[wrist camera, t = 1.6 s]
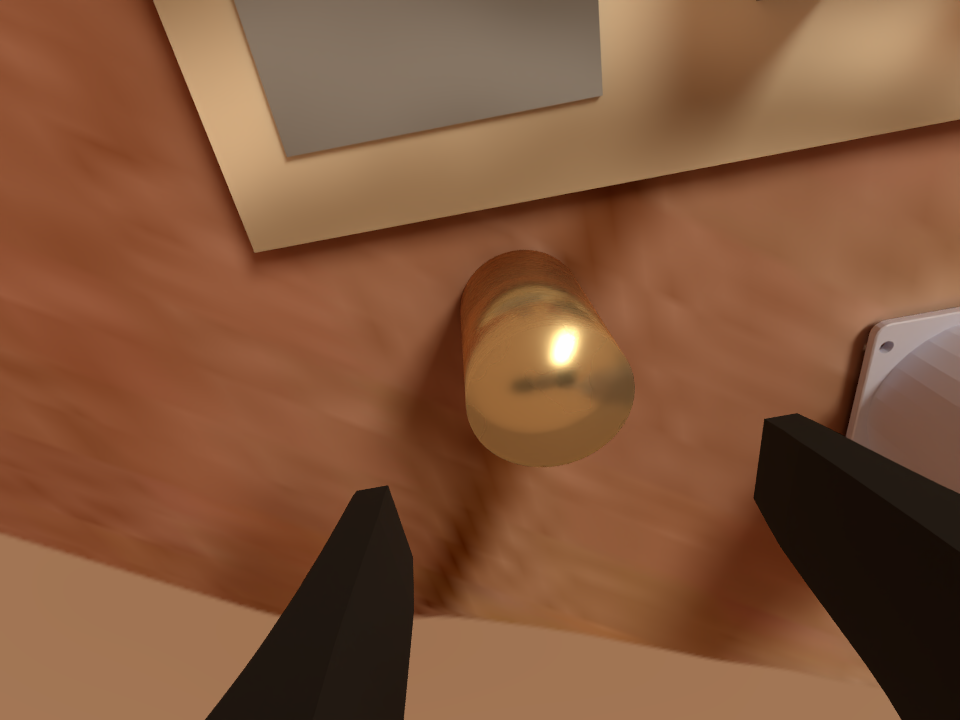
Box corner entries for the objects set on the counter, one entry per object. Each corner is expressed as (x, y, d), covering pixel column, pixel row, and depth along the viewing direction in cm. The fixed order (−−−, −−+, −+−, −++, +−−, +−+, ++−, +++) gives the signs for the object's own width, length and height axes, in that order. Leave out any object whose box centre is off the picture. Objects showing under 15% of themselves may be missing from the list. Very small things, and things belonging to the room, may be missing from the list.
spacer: (585, 351, 20) (636, 452, 14) (471, 371, 20) (481, 479, 14) (576, 239, 17) (632, 310, 12) (449, 262, 17) (450, 342, 12)
